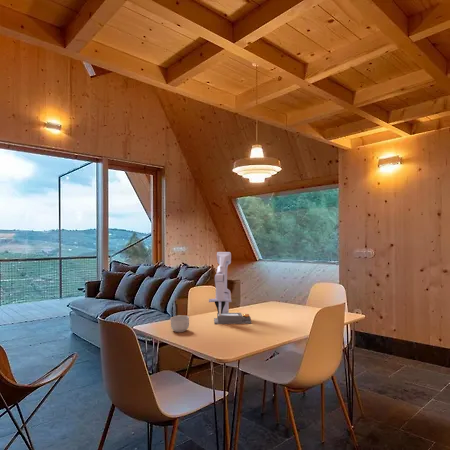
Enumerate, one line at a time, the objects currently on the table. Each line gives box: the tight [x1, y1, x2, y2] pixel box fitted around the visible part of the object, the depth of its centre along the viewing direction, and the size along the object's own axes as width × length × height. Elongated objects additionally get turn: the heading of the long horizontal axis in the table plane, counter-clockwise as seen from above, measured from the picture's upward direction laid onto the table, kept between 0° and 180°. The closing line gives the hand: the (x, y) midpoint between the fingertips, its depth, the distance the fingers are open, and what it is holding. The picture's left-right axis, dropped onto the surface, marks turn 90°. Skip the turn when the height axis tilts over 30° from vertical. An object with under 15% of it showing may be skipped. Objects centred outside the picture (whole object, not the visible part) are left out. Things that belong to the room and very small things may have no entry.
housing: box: [213, 312, 252, 325], centre depth 238 cm, size 12×23×5 cm, turn 94°
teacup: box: [169, 314, 190, 333], centre depth 216 cm, size 14×11×8 cm
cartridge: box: [218, 308, 238, 316], centre depth 238 cm, size 6×13×7 cm, turn 94°
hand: (219, 313), depth 238 cm, fingers closed
